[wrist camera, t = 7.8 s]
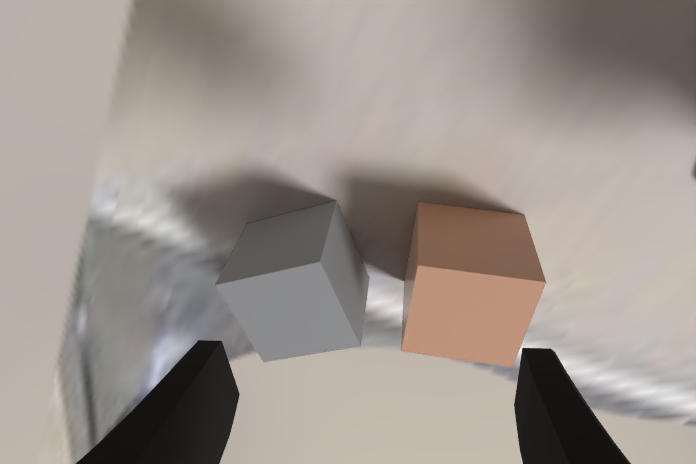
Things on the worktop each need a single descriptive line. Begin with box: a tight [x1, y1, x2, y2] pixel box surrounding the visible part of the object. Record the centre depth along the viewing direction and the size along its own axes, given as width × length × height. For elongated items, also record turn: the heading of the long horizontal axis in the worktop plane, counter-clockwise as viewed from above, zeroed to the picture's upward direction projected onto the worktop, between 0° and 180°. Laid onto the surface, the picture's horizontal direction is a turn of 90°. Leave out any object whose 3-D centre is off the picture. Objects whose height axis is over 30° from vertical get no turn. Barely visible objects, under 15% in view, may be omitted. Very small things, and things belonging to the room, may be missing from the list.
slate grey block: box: [215, 200, 369, 362], centre depth 22 cm, size 4×4×4 cm
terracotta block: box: [401, 202, 546, 367], centre depth 21 cm, size 4×4×4 cm
